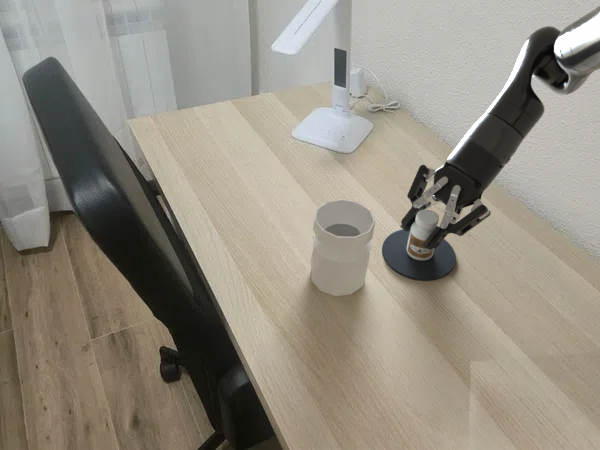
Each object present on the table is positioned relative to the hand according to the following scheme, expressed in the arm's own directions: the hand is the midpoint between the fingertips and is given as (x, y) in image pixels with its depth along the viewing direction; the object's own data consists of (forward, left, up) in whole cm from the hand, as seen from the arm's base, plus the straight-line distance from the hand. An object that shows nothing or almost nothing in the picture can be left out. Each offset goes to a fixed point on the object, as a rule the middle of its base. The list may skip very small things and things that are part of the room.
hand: (415, 238), depth 87 cm
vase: (+13, +3, -5) cm, 14 cm away
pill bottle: (-2, -1, -4) cm, 5 cm away
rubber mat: (-1, -1, -4) cm, 5 cm away
